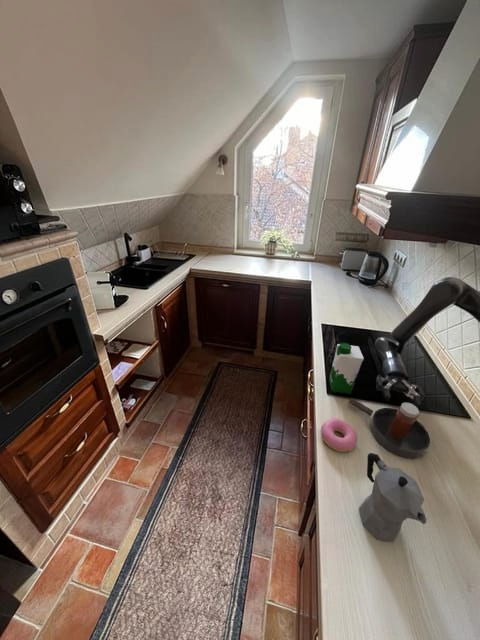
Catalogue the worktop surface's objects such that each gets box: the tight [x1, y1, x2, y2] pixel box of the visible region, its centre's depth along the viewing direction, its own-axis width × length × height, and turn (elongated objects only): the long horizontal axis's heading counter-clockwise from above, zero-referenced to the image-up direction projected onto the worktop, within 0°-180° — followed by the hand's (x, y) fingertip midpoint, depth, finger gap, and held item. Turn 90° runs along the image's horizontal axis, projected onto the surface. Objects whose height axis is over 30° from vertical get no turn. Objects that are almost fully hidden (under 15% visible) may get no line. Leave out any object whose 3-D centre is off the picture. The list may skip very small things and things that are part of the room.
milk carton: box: [328, 342, 365, 395], centre depth 96 cm, size 9×9×20 cm
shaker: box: [388, 402, 420, 441], centre depth 80 cm, size 5×5×12 cm
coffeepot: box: [358, 452, 427, 543], centre depth 59 cm, size 15×9×18 cm, turn 16°
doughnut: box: [320, 417, 358, 453], centre depth 80 cm, size 11×11×4 cm
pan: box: [369, 407, 431, 460], centre depth 82 cm, size 16×16×4 cm
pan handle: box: [347, 397, 374, 417], centre depth 90 cm, size 8×2×1 cm, turn 44°
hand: (402, 402), depth 83 cm, fingers open, 8 cm apart
